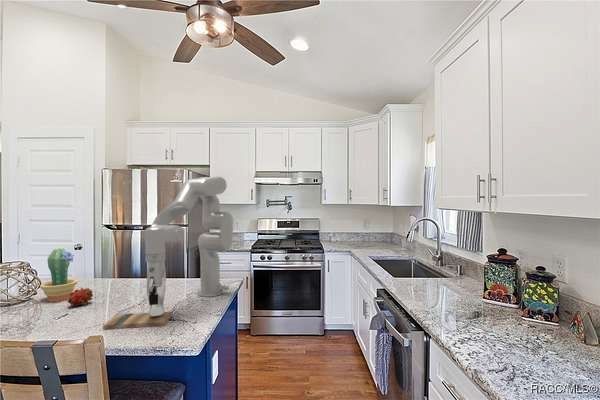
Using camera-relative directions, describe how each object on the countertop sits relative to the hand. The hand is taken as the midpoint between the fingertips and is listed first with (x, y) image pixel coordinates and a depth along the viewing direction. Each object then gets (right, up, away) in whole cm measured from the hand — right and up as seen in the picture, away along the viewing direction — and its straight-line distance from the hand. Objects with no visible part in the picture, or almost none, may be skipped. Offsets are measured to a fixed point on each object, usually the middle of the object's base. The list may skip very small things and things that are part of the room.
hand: (156, 301), depth 132 cm
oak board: (-6, -8, -2) cm, 10 cm away
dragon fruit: (-44, -8, +20) cm, 49 cm away
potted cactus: (-62, -8, +31) cm, 70 cm away
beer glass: (0, -5, 0) cm, 5 cm away
